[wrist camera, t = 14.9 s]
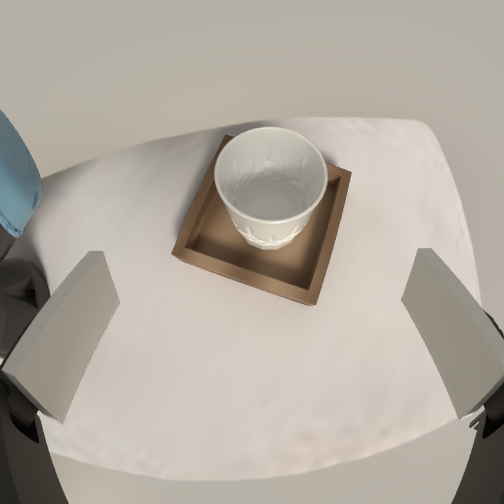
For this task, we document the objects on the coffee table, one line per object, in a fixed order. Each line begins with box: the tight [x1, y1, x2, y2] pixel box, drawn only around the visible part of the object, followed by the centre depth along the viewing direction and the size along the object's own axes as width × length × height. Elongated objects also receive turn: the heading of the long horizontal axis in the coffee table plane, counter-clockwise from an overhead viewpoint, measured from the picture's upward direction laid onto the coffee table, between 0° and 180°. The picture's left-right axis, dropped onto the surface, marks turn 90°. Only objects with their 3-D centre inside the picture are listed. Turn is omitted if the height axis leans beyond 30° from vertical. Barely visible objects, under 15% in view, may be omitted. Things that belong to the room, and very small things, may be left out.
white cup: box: [214, 127, 328, 250], centre depth 23 cm, size 8×8×10 cm
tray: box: [171, 135, 352, 306], centre depth 27 cm, size 14×14×4 cm
